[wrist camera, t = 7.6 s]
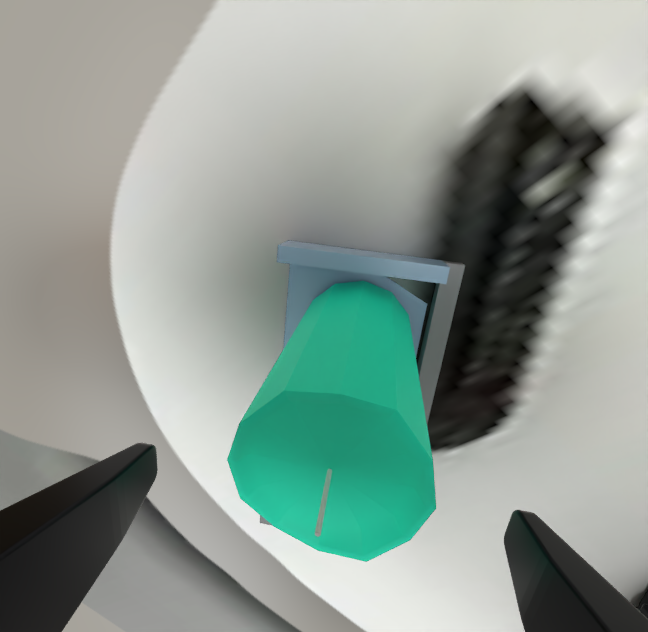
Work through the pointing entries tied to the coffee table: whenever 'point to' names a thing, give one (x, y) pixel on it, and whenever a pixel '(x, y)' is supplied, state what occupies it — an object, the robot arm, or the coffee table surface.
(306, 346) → the candle
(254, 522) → the coffee table surface
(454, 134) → the coffee table surface
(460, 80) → the coffee table surface
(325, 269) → the grey framed panel
